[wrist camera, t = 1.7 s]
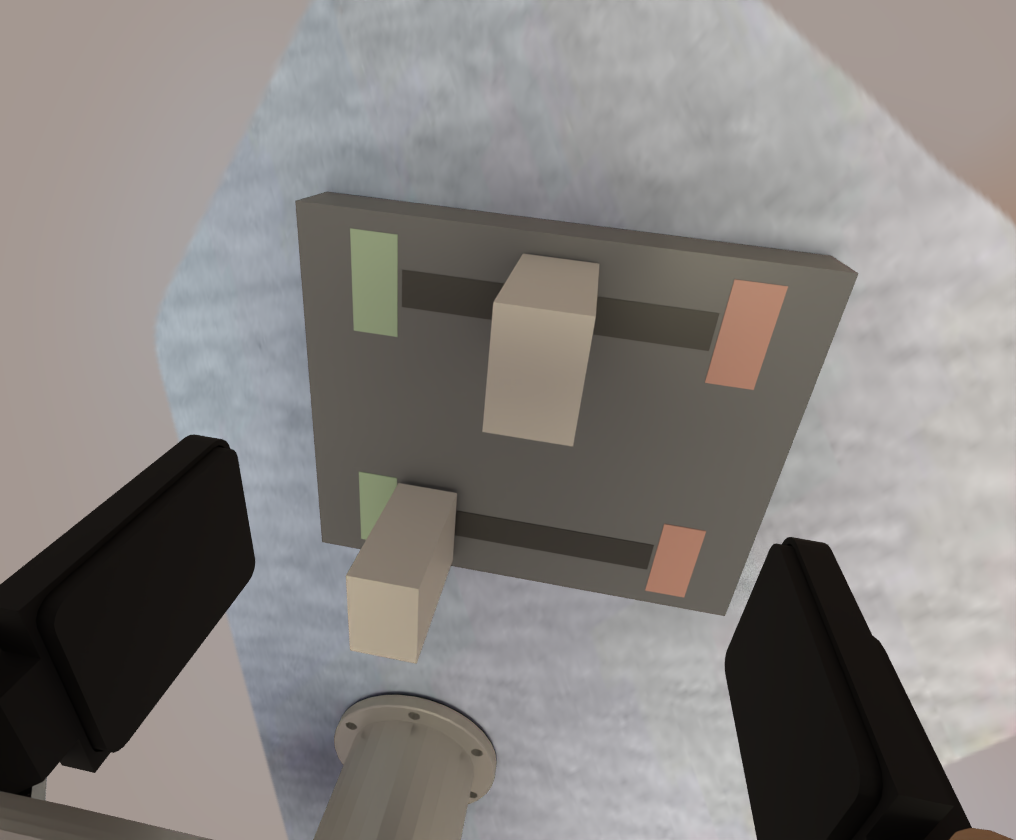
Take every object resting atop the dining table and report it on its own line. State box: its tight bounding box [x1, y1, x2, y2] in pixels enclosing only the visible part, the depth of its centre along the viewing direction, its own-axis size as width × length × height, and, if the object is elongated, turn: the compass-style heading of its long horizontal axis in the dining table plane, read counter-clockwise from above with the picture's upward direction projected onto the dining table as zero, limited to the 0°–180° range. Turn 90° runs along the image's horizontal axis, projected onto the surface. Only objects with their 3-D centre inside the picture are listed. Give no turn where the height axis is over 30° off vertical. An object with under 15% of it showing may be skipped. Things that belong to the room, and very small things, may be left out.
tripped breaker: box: [482, 254, 599, 446], centre depth 21 cm, size 4×3×7 cm
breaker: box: [346, 483, 457, 664], centre depth 27 cm, size 4×3×7 cm
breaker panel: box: [295, 192, 858, 616], centre depth 28 cm, size 18×22×3 cm
